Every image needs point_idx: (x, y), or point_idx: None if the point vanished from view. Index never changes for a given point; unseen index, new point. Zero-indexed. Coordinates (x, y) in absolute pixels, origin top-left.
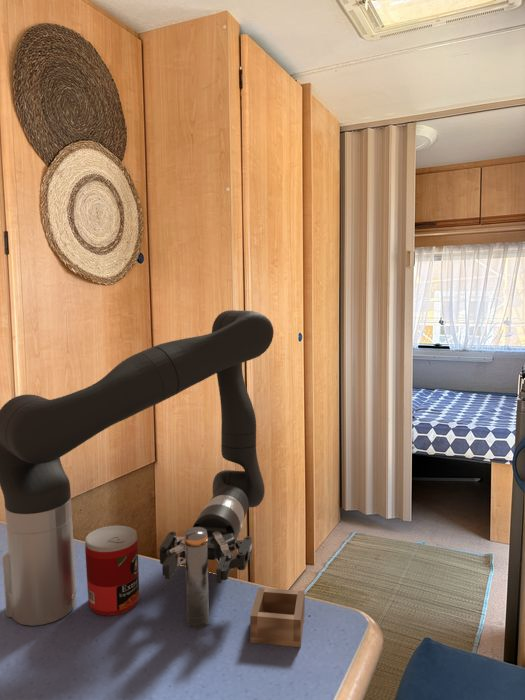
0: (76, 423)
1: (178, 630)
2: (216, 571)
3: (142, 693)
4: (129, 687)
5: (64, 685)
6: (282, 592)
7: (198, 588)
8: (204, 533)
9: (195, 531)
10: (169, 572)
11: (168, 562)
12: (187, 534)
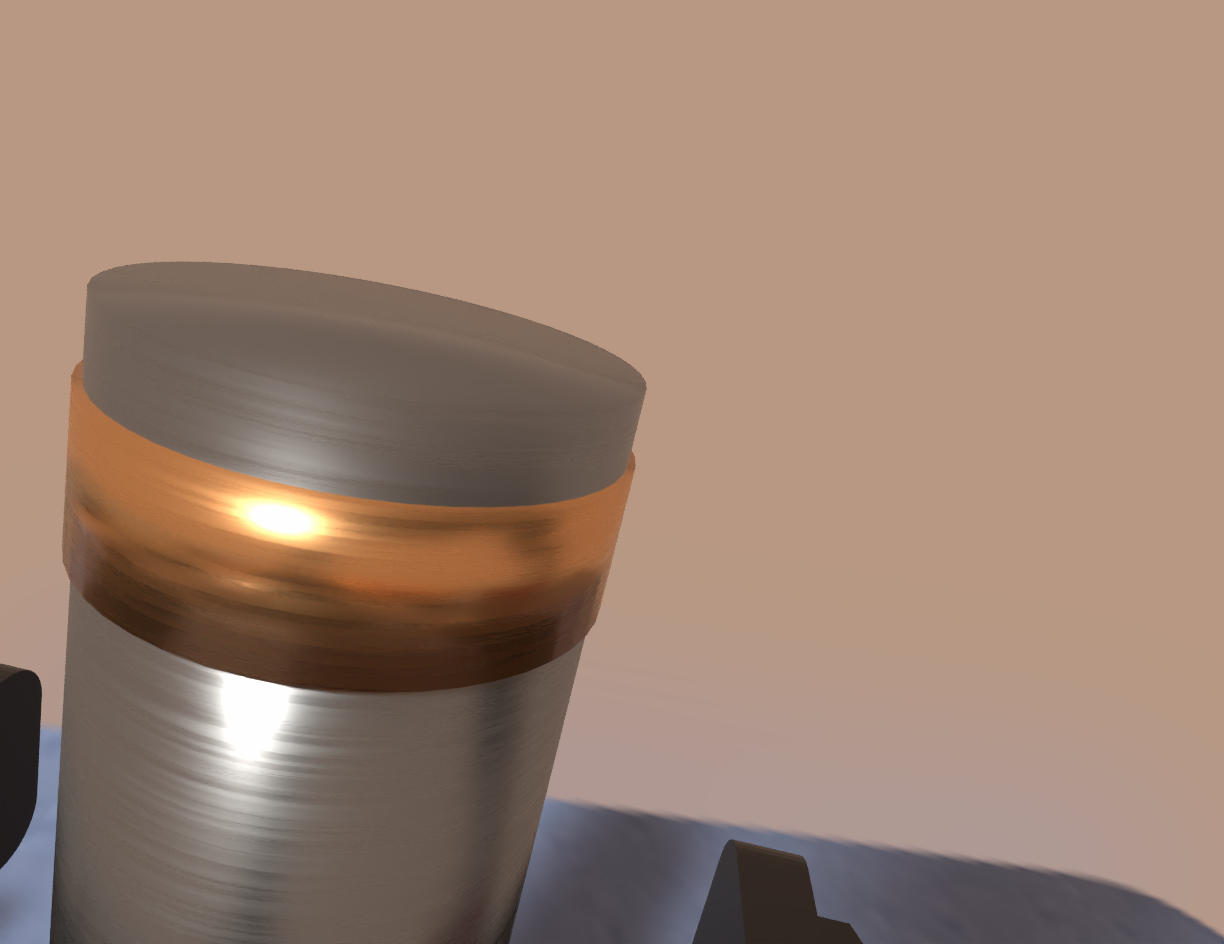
0: None
1: None
2: (31, 680)
3: (585, 807)
4: (659, 844)
5: (967, 895)
6: None
7: None
8: (195, 269)
9: (400, 328)
10: (707, 907)
11: (790, 914)
12: (563, 337)
